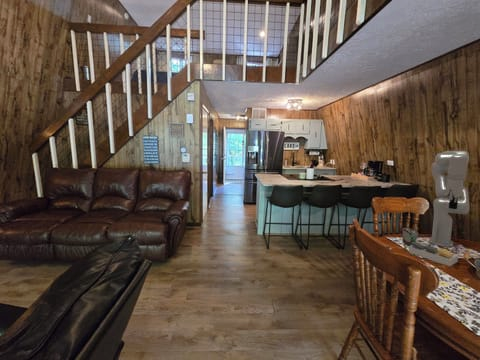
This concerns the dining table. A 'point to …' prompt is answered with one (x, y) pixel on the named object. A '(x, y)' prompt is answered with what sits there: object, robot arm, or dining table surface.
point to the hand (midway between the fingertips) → (452, 208)
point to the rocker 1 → (417, 245)
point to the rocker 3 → (444, 253)
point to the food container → (409, 236)
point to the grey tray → (434, 256)
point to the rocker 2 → (430, 249)
